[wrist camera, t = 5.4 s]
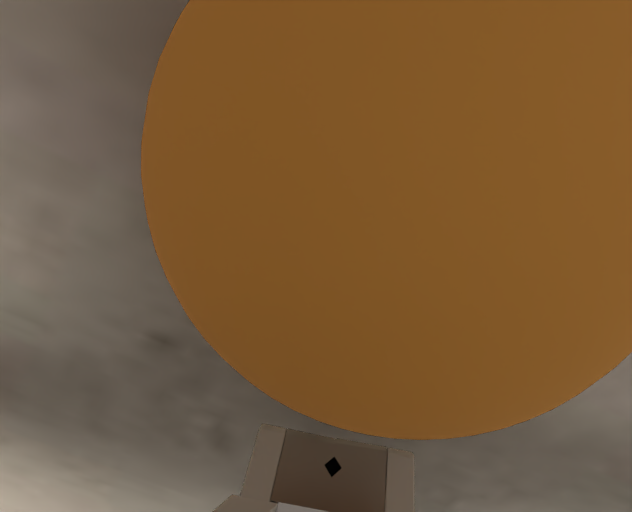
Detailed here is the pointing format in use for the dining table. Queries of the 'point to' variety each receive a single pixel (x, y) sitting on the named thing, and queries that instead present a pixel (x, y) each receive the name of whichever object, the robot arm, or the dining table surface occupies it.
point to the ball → (399, 202)
